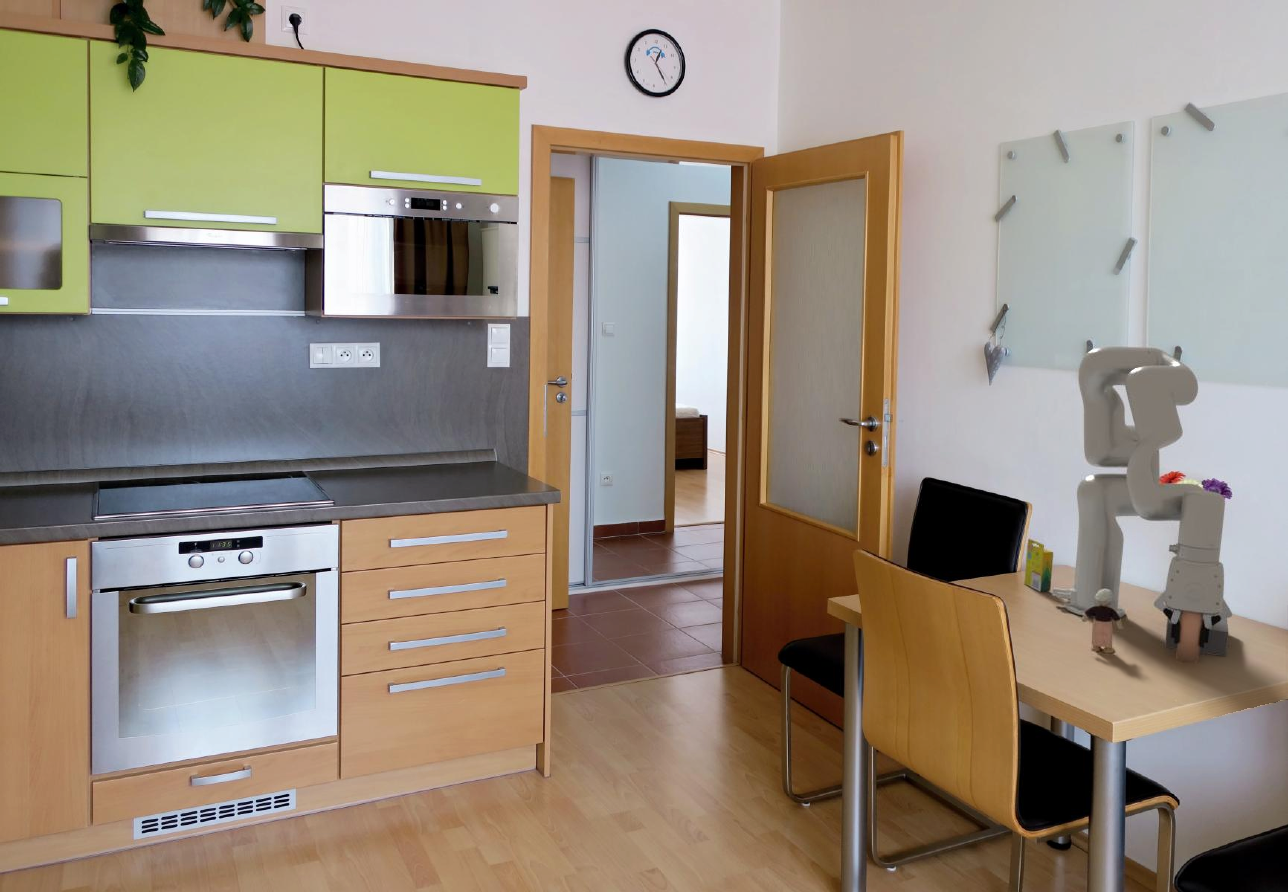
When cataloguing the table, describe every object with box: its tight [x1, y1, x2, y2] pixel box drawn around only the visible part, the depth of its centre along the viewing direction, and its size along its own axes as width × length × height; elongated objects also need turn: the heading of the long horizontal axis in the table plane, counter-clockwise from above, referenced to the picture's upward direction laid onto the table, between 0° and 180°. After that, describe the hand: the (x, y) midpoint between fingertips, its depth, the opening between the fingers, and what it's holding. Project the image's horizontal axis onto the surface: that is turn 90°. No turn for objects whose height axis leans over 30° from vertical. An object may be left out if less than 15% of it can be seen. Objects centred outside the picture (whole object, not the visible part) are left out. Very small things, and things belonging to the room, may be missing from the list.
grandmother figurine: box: [1081, 589, 1124, 654], centre depth 220 cm, size 8×4×13 cm, turn 71°
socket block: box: [1165, 609, 1229, 657], centre depth 229 cm, size 11×18×5 cm, turn 154°
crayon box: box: [1024, 538, 1054, 593], centre depth 266 cm, size 7×3×12 cm, turn 11°
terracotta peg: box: [1175, 611, 1203, 663], centre depth 216 cm, size 4×4×11 cm
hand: (1188, 642), depth 216 cm, fingers closed on terracotta peg, 4 cm apart
